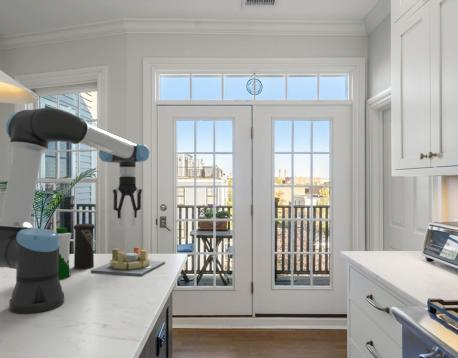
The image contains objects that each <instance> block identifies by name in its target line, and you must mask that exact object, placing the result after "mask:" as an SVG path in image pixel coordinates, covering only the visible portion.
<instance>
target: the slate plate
mask: <svg viewBox="0 0 458 358" xmlns="http://www.w3.org/2000/svg"><path fill="white" fill-rule="evenodd" d="M137 261H138V254H136V253H134V252H129V253H127V252H126V262H137ZM163 265H166V261H164V260H162V261H161V260H160V261H159V260H149V265H147V266H145V267H142V268H137V269H127V270H125V269H114V268H112V267H111V266H110V262H109V263H106V264H103V265H101V266H98V267H95V268H93V269H90V272H92V273H93V274H103V273H107V274H106V275H108V274H109V275H117V276H118V275H121V276H131V277H132V276H135V277H143V276H145V275H146V274H149V273H150V272H152V271H154V270H156V269H158V268H160V267H161V266H163Z"/></svg>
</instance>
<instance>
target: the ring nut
mask: <svg viewBox="0 0 458 358" xmlns="http://www.w3.org/2000/svg"><path fill="white" fill-rule="evenodd" d="M111 251H112V255H111V257H112V258H111V259H110V260H109V263H110V266H111V267H112V268H114V269H125V270H127V269H137V268H142V267H145V266H147V265H149V261H150V258H149V256H148V255H149V253H148V252H149V250H148V249H147V250H146V249H142V246H134V247H133V253H136V254H138V261H137V262H126V254H127V252H125V251H121V249H120V248H112V250H111Z"/></svg>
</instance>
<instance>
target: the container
mask: <svg viewBox="0 0 458 358" xmlns="http://www.w3.org/2000/svg"><path fill="white" fill-rule="evenodd" d="M95 227H96V225H95V224H93V223H76V224H75V225H73V229H74V255H73V257H74V259H73V261H74V262H73V267H74V269H77V270H85V269H86V270H87V269H91V268H93V267H95V266H94V265H95V260H94V259H95V258H94V256H95V255H94V253H95V251H94V248H95V247H94V244H95V243H94V229H95Z"/></svg>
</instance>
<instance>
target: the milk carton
mask: <svg viewBox="0 0 458 358" xmlns="http://www.w3.org/2000/svg"><path fill="white" fill-rule="evenodd" d="M55 232H56V233H57V234H58V236H59V244H60V245H59V271H58V278H59V281H60V280H63V278H64V279H68V278H70V277H71V273H70V242H71V238H72V234H73V233H72V232H68V227H62V226H61V227H57V228H56V229H55ZM67 277H68V278H67Z"/></svg>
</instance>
